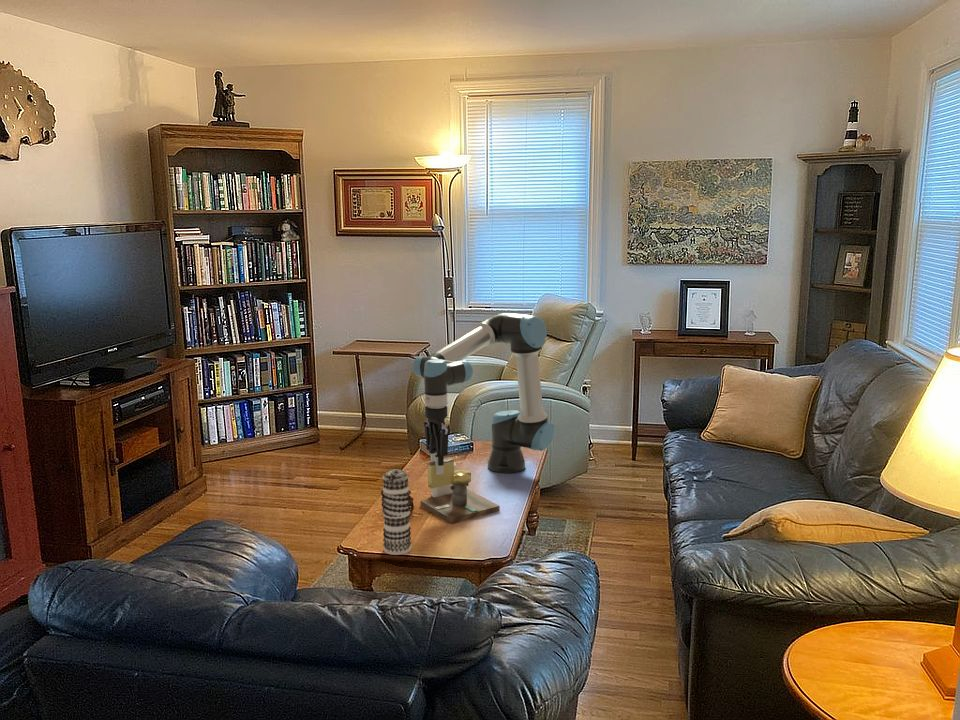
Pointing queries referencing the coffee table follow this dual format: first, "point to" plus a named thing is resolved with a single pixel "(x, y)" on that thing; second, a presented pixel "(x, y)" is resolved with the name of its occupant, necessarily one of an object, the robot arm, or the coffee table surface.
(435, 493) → the candle holder
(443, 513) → the post plinth
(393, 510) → the decorative candle
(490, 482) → the coffee table surface
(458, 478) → the cap
